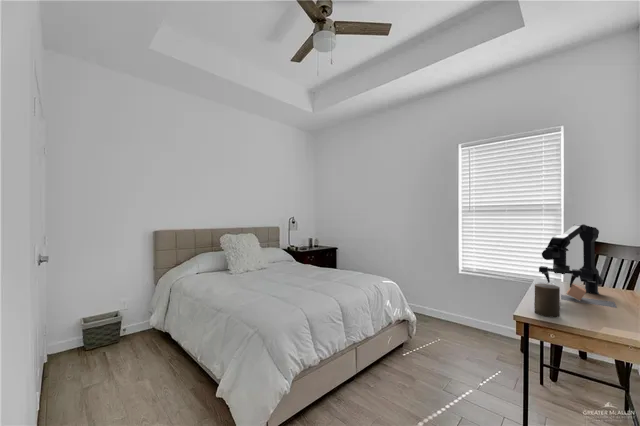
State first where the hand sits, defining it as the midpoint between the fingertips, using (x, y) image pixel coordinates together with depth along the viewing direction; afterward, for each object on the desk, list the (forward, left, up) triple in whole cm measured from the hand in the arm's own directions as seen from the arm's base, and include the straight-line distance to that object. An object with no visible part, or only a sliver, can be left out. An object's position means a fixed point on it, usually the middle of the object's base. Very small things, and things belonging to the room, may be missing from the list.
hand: (559, 286), depth 166 cm
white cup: (+15, -6, -7) cm, 17 cm away
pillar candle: (+37, -5, -7) cm, 38 cm away
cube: (0, +6, -5) cm, 8 cm away
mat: (0, +11, -7) cm, 13 cm away
